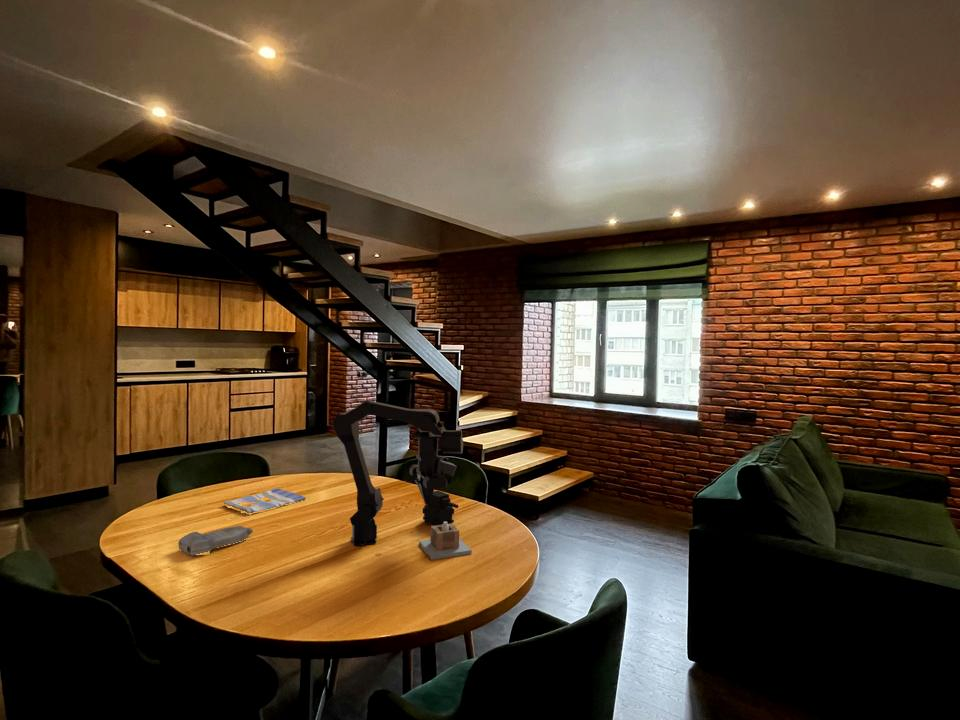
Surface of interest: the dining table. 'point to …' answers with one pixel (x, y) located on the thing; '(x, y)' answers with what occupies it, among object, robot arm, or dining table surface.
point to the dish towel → (275, 495)
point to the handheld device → (212, 539)
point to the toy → (439, 509)
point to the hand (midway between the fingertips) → (427, 504)
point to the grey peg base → (436, 554)
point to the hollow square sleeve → (444, 537)
